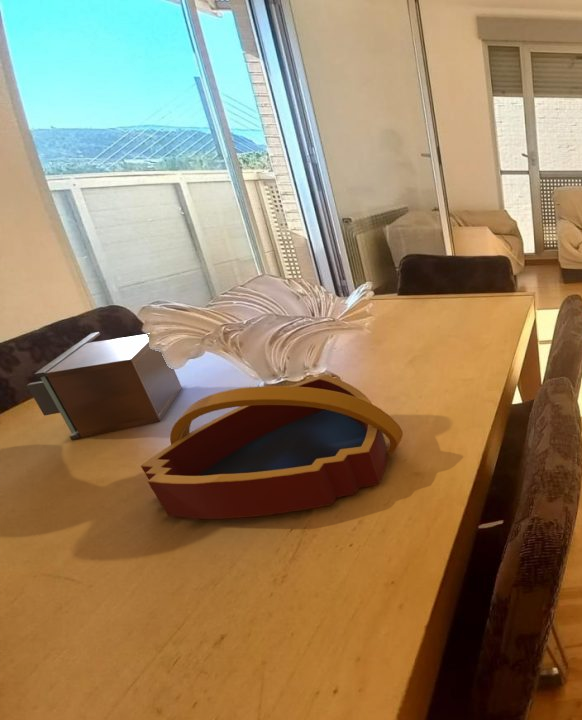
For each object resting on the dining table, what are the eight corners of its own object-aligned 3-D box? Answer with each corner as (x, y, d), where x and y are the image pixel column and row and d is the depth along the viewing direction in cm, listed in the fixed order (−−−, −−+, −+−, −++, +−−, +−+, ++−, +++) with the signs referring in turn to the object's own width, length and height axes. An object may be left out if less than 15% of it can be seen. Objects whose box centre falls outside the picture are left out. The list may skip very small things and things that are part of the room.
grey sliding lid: (52, 437, 84) (19, 380, 80) (89, 400, 97) (62, 350, 93) (76, 432, 86) (44, 376, 81) (109, 397, 99) (84, 347, 94)
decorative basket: (114, 539, 65) (43, 458, 57) (254, 409, 90) (217, 340, 82) (359, 538, 65) (321, 456, 57) (432, 407, 89) (412, 338, 81)
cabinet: (71, 440, 85) (33, 373, 80) (119, 388, 105) (91, 332, 100) (160, 421, 91) (130, 358, 86) (189, 375, 111) (167, 322, 105)
